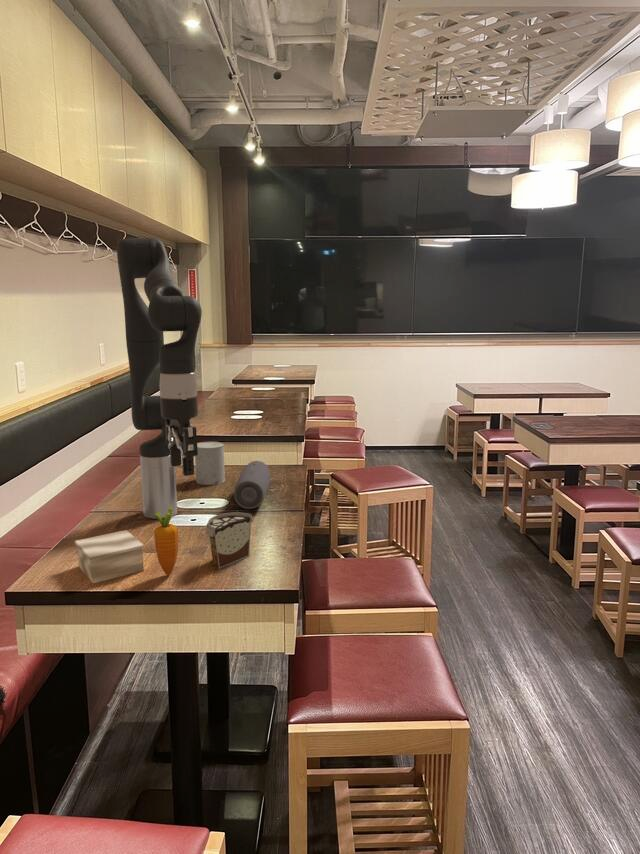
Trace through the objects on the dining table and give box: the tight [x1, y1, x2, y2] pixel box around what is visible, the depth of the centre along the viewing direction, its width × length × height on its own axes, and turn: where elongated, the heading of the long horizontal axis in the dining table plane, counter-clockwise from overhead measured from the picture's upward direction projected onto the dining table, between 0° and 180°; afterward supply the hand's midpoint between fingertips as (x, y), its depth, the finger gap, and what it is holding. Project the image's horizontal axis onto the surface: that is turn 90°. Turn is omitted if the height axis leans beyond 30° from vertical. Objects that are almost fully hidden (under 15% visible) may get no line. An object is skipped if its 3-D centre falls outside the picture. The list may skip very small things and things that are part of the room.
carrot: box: [153, 508, 179, 577], centre depth 136 cm, size 5×5×15 cm
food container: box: [205, 511, 254, 570], centre depth 145 cm, size 12×6×10 cm, turn 141°
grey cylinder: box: [194, 441, 226, 486], centre depth 208 cm, size 10×10×12 cm
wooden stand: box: [74, 529, 145, 584], centre depth 140 cm, size 12×12×6 cm
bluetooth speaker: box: [233, 460, 271, 510], centre depth 187 cm, size 23×9×10 cm, turn 0°
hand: (182, 470), depth 134 cm, fingers open, 8 cm apart
